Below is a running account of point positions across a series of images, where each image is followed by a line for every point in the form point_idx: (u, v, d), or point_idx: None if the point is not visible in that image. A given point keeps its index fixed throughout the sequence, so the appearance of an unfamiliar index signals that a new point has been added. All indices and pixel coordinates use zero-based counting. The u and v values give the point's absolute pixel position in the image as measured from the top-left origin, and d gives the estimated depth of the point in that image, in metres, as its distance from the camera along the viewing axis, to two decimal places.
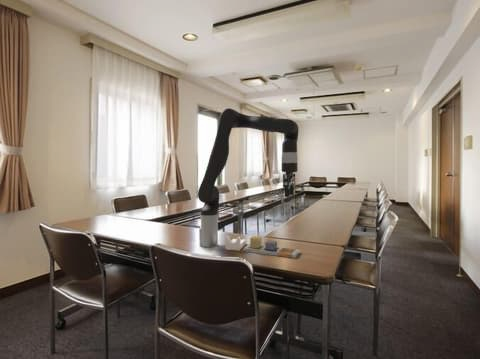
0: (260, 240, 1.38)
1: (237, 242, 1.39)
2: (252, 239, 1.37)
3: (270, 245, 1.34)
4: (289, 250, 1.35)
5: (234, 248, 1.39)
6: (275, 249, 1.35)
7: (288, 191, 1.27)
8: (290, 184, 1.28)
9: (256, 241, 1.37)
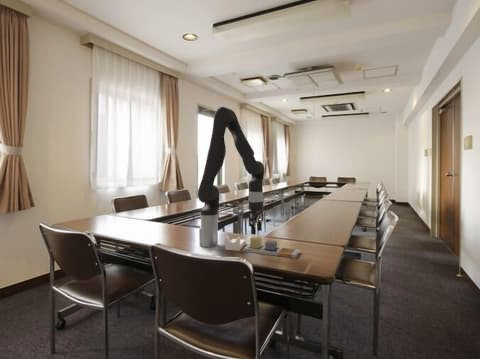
0: (260, 240, 1.38)
1: (237, 242, 1.38)
2: (252, 239, 1.37)
3: (270, 245, 1.34)
4: (289, 250, 1.35)
5: (234, 248, 1.39)
6: (275, 249, 1.35)
7: (254, 229, 1.34)
8: (256, 222, 1.35)
9: (256, 241, 1.37)
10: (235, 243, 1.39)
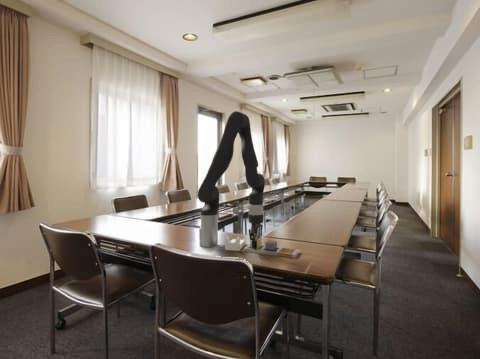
0: (260, 240, 1.38)
1: (236, 242, 1.38)
2: None
3: (270, 245, 1.34)
4: (289, 250, 1.35)
5: (233, 248, 1.39)
6: (275, 249, 1.35)
7: (255, 243, 1.36)
8: None
9: None
10: (235, 243, 1.38)
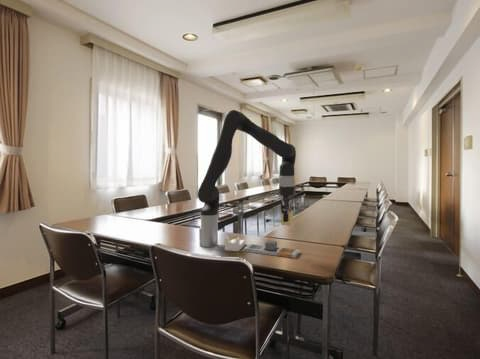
0: (292, 214, 1.31)
1: (236, 243, 1.38)
2: None
3: (270, 245, 1.34)
4: (289, 250, 1.35)
5: (233, 249, 1.38)
6: (275, 249, 1.35)
7: (287, 216, 1.29)
8: (288, 209, 1.29)
9: None
10: (234, 243, 1.38)
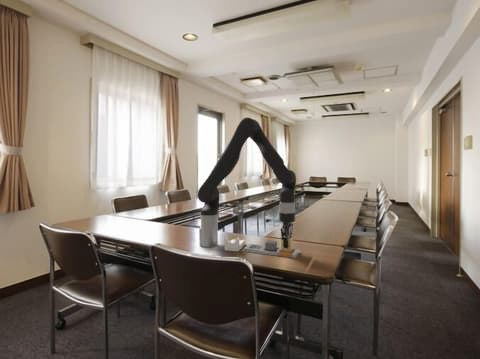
0: (292, 240, 1.32)
1: (236, 243, 1.37)
2: None
3: (270, 245, 1.34)
4: None
5: (233, 249, 1.38)
6: (275, 249, 1.35)
7: (287, 243, 1.29)
8: (288, 235, 1.29)
9: None
10: (234, 244, 1.38)
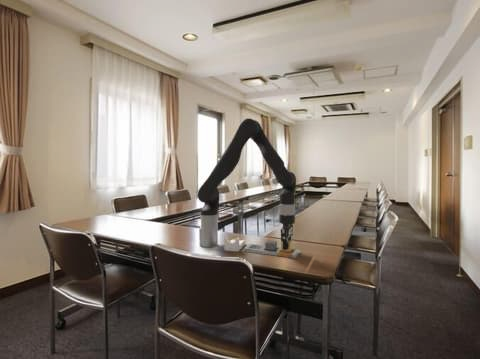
0: (291, 243, 1.32)
1: (236, 243, 1.37)
2: None
3: (270, 245, 1.34)
4: None
5: (233, 249, 1.38)
6: (275, 249, 1.35)
7: (286, 244, 1.29)
8: (288, 237, 1.29)
9: None
10: (234, 244, 1.37)
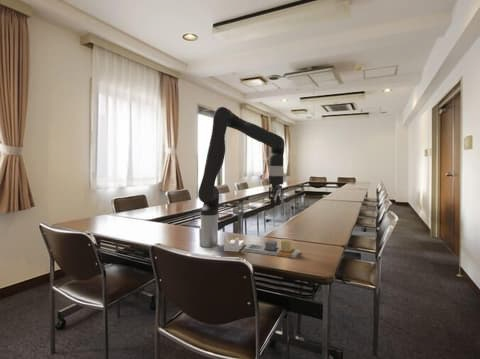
0: (291, 243, 1.32)
1: (235, 243, 1.37)
2: (283, 242, 1.31)
3: (270, 245, 1.34)
4: None
5: (232, 249, 1.37)
6: (275, 249, 1.35)
7: (273, 202, 1.36)
8: (276, 196, 1.37)
9: (287, 244, 1.30)
10: (234, 244, 1.37)
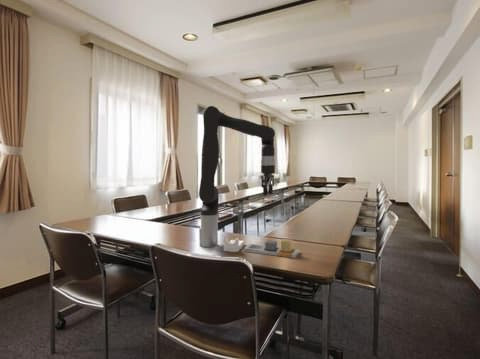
0: (291, 243, 1.32)
1: (235, 243, 1.36)
2: (283, 242, 1.31)
3: (270, 245, 1.34)
4: None
5: (232, 249, 1.37)
6: (275, 249, 1.35)
7: (266, 190, 1.44)
8: (268, 184, 1.45)
9: (287, 244, 1.30)
10: (233, 244, 1.37)
